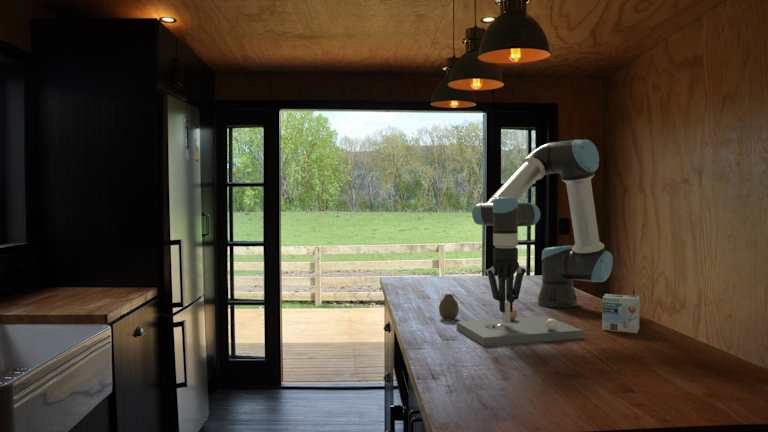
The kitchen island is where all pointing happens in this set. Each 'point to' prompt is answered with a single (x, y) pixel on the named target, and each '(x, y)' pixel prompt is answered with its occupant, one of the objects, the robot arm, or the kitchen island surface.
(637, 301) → the light bulb box
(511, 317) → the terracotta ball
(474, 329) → the plate
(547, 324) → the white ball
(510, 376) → the kitchen island surface
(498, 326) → the steel ball
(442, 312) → the vase
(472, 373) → the kitchen island surface
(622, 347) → the kitchen island surface
